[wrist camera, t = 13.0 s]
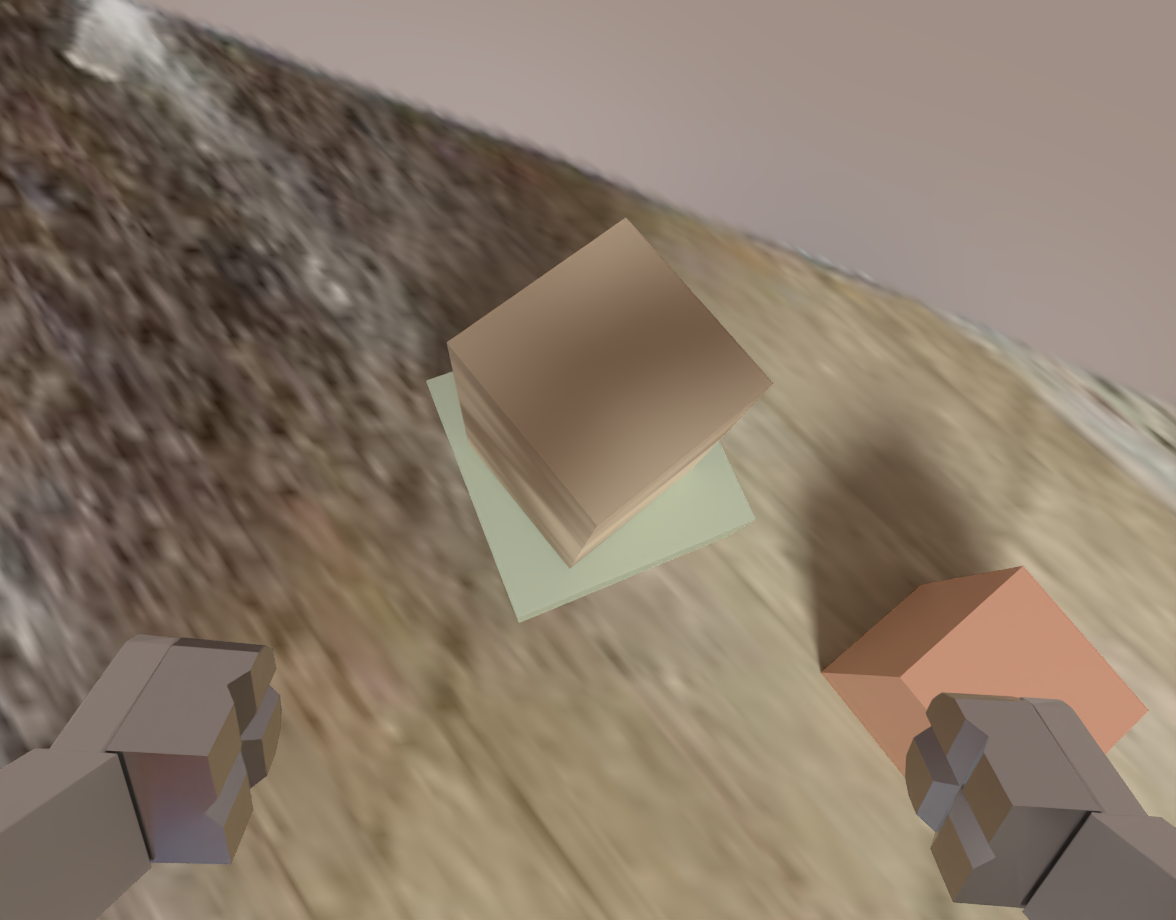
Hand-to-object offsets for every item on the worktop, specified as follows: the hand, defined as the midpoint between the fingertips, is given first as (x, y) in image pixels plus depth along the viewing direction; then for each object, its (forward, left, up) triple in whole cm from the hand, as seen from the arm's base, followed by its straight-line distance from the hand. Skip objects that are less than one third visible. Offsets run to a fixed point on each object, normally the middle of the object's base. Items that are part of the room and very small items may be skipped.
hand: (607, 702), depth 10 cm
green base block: (-5, +5, -18) cm, 19 cm away
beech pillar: (-5, +4, -13) cm, 15 cm away
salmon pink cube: (+8, +10, -17) cm, 21 cm away
